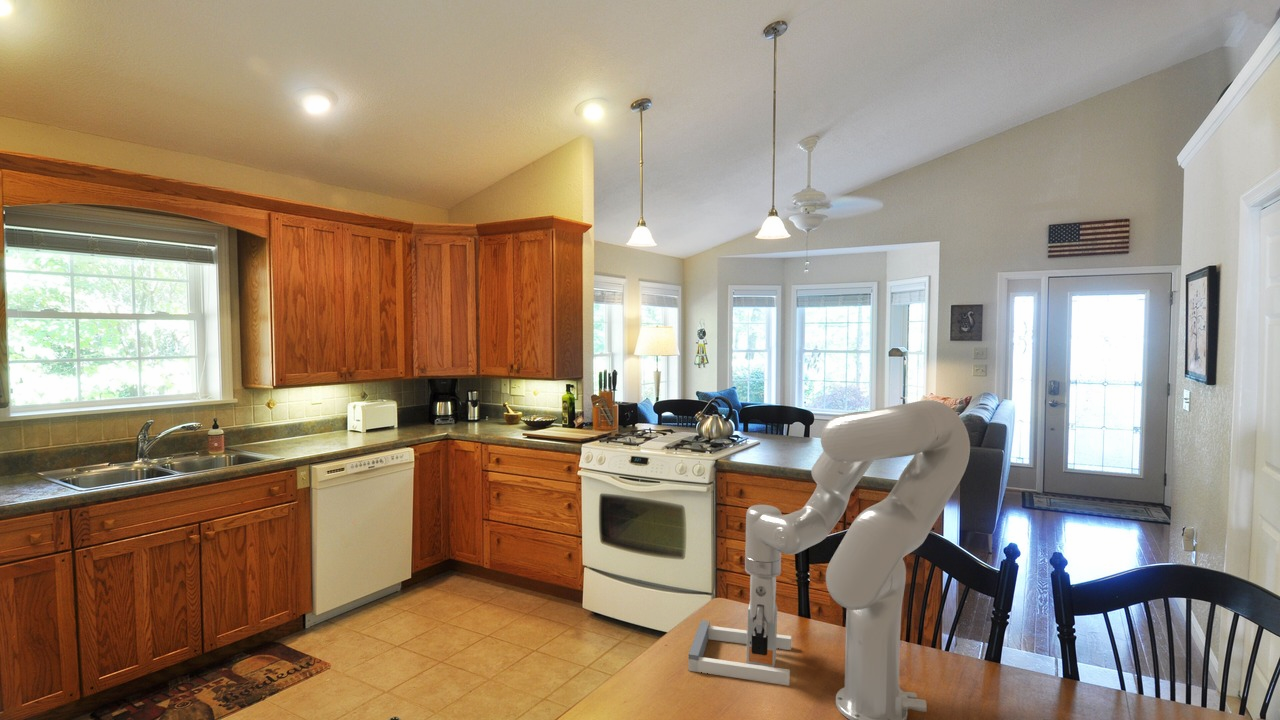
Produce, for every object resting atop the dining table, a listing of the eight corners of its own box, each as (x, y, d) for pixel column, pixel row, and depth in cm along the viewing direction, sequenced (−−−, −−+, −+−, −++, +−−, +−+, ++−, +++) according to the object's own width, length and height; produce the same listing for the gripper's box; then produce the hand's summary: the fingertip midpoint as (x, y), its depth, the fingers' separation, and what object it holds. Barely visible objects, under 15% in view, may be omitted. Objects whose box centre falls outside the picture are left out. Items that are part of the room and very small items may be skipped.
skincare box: (746, 664, 132) (746, 608, 132) (748, 654, 137) (749, 600, 136) (775, 668, 131) (776, 612, 130) (776, 658, 135) (777, 604, 134)
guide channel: (791, 646, 140) (791, 631, 140) (789, 685, 124) (789, 668, 124) (700, 634, 145) (701, 620, 145) (688, 670, 130) (688, 654, 129)
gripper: (779, 582, 123) (777, 666, 124) (782, 552, 140) (780, 626, 141) (741, 577, 125) (739, 660, 126) (748, 548, 142) (747, 622, 143)
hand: (761, 642), depth 134 cm, fingers open, 9 cm apart
